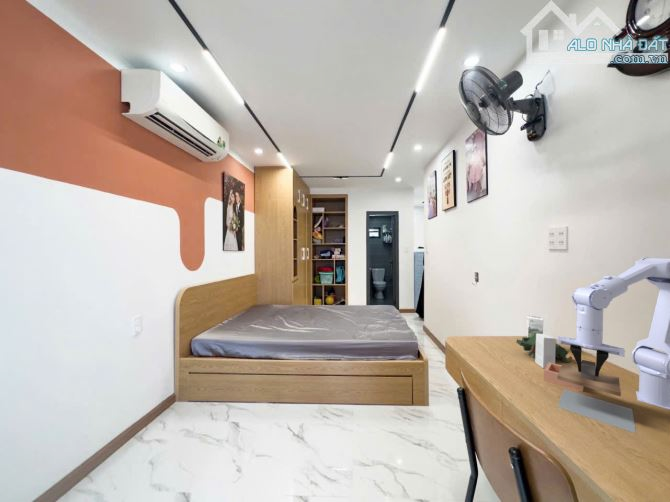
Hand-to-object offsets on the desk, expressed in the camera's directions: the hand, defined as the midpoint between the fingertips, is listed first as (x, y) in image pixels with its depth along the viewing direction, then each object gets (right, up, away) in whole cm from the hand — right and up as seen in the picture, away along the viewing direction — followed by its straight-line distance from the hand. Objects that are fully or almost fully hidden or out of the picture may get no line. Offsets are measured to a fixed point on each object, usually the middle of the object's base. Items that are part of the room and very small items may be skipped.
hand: (588, 373), depth 80 cm
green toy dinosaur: (+13, -10, +34) cm, 38 cm away
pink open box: (+4, -9, +13) cm, 16 cm away
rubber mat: (-1, -9, -4) cm, 10 cm away
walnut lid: (0, -2, 0) cm, 2 cm away
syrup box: (+19, -10, +47) cm, 52 cm away
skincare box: (+7, -9, +26) cm, 29 cm away
